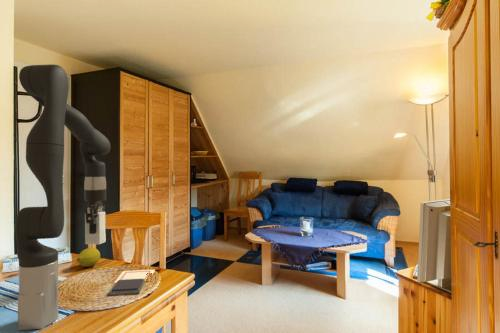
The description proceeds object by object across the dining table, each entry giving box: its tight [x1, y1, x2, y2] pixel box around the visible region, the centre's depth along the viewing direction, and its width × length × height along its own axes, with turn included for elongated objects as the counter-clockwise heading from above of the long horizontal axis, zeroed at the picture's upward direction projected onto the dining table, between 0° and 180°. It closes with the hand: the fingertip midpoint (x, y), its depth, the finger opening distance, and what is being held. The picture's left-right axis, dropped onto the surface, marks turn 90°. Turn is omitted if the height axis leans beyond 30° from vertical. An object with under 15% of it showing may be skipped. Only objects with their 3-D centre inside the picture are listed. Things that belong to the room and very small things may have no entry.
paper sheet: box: [113, 269, 156, 284], centre depth 118 cm, size 12×13×1 cm
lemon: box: [76, 247, 101, 268], centre depth 129 cm, size 11×8×8 cm
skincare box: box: [84, 211, 107, 245], centre depth 113 cm, size 6×4×12 cm
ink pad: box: [108, 279, 146, 296], centre depth 107 cm, size 10×10×2 cm
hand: (95, 231), depth 113 cm, fingers closed on skincare box, 5 cm apart
